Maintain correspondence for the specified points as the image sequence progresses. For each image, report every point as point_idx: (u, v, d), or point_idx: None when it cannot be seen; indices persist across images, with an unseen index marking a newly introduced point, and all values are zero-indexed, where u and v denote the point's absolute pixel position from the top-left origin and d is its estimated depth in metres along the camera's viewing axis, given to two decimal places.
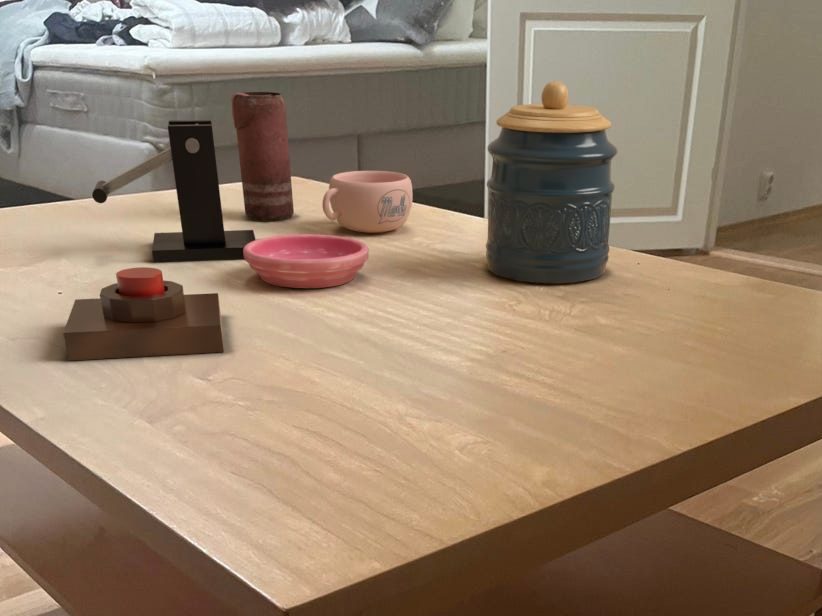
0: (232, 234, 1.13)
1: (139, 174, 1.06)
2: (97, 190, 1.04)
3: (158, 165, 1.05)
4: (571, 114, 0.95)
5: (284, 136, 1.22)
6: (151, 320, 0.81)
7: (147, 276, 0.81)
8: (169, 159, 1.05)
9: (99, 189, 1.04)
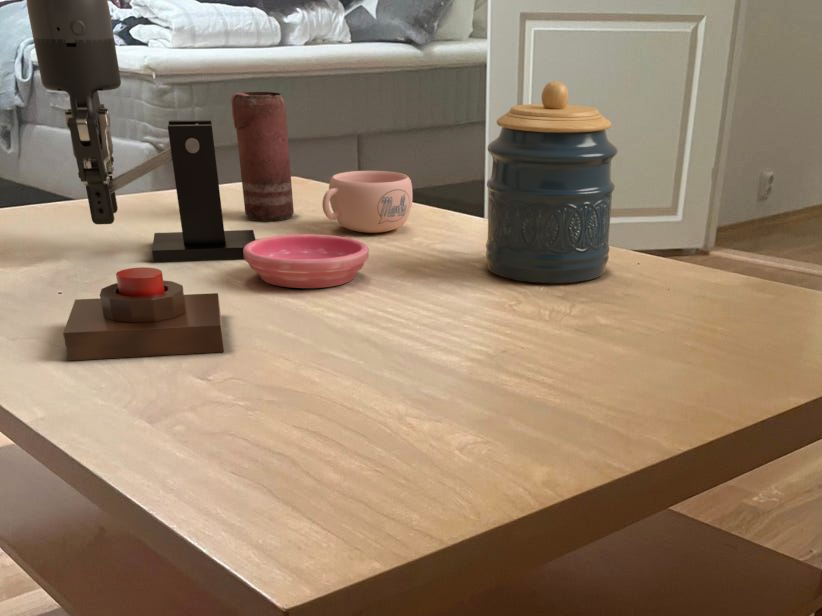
0: (232, 234, 1.13)
1: (140, 174, 1.06)
2: None
3: (158, 165, 1.06)
4: (571, 114, 0.95)
5: (284, 136, 1.22)
6: (151, 320, 0.81)
7: (147, 276, 0.81)
8: (169, 159, 1.05)
9: None
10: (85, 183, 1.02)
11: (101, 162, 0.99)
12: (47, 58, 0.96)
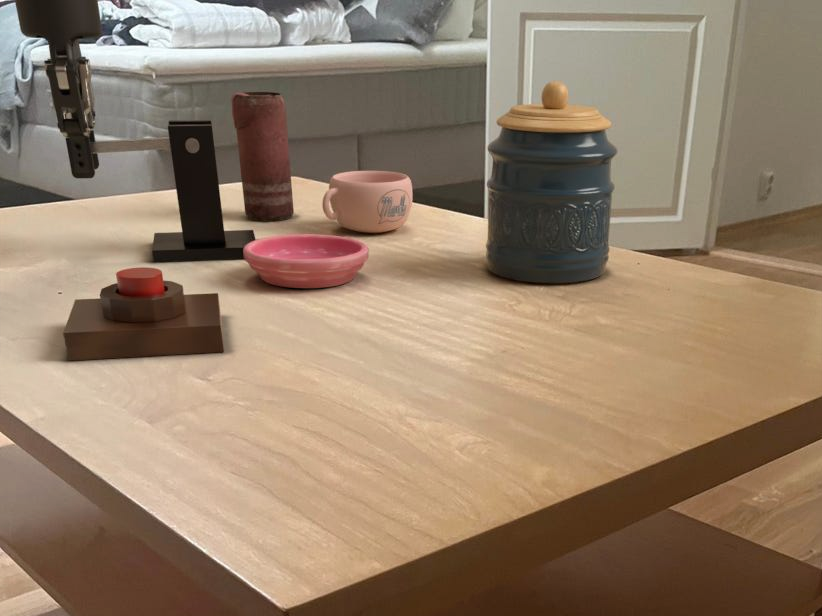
0: (232, 234, 1.13)
1: (128, 148, 1.04)
2: None
3: (151, 148, 1.05)
4: (571, 114, 0.95)
5: (284, 136, 1.22)
6: (151, 320, 0.81)
7: (147, 276, 0.81)
8: (163, 147, 1.05)
9: None
10: (65, 135, 0.99)
11: (81, 112, 0.97)
12: (25, 3, 0.94)
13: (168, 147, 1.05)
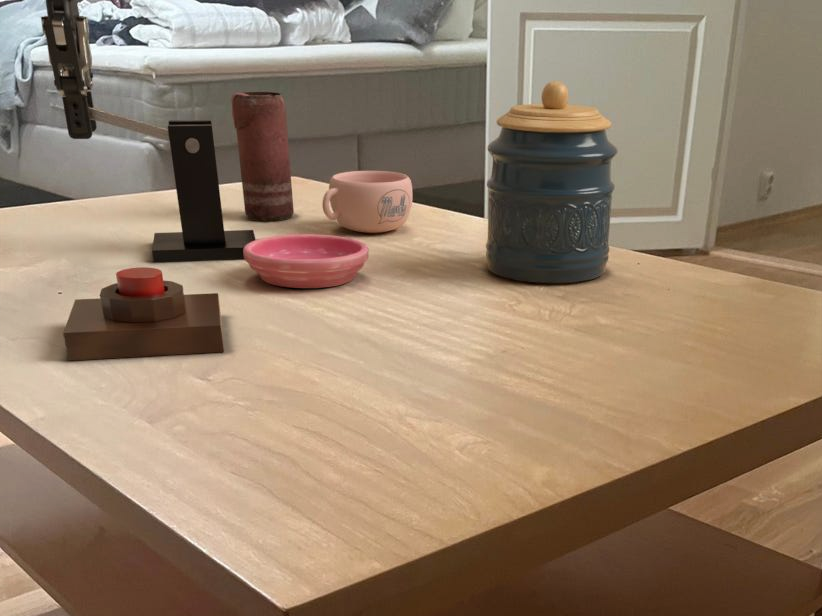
0: (232, 234, 1.13)
1: (127, 127, 1.03)
2: None
3: (149, 134, 1.04)
4: (571, 114, 0.95)
5: (284, 136, 1.22)
6: (151, 320, 0.81)
7: (147, 276, 0.81)
8: (162, 137, 1.04)
9: None
10: (61, 93, 0.97)
11: (78, 69, 0.95)
12: None
13: (167, 139, 1.04)
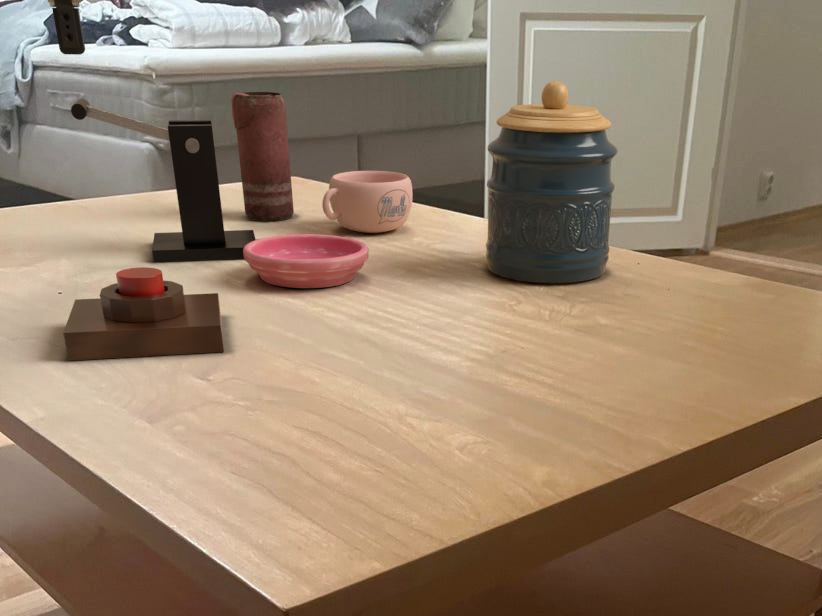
0: (232, 234, 1.13)
1: (127, 126, 1.03)
2: (80, 106, 0.99)
3: (149, 133, 1.04)
4: (571, 114, 0.95)
5: (284, 136, 1.22)
6: (151, 320, 0.81)
7: (147, 276, 0.81)
8: (162, 137, 1.04)
9: (83, 107, 1.00)
10: (52, 5, 0.92)
11: None
12: None
13: (167, 138, 1.04)
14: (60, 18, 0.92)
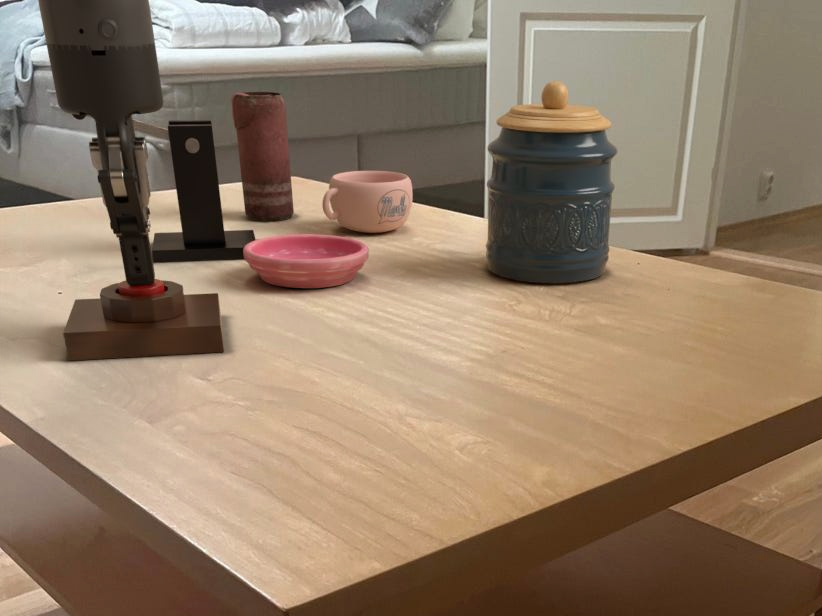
0: (232, 234, 1.13)
1: None
2: None
3: (149, 133, 1.04)
4: (571, 114, 0.95)
5: (284, 136, 1.22)
6: (151, 320, 0.81)
7: (149, 287, 0.81)
8: (162, 137, 1.04)
9: None
10: (119, 237, 0.79)
11: (141, 217, 0.76)
12: (66, 71, 0.71)
13: (167, 138, 1.04)
14: (128, 250, 0.79)
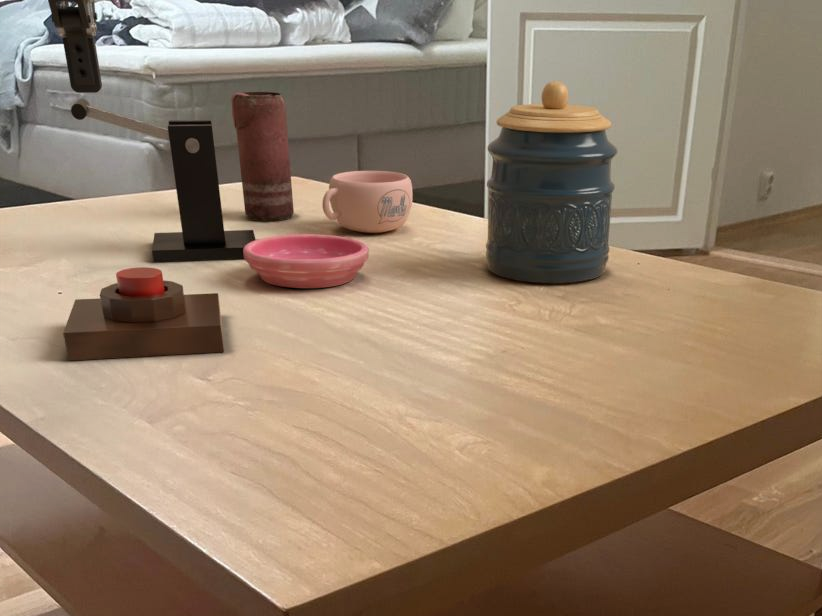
0: (232, 234, 1.13)
1: (127, 126, 1.03)
2: (80, 106, 0.99)
3: (149, 133, 1.04)
4: (571, 114, 0.95)
5: (284, 136, 1.22)
6: (151, 320, 0.81)
7: (147, 276, 0.81)
8: (162, 137, 1.04)
9: (83, 107, 1.00)
10: (62, 35, 0.76)
11: (83, 7, 0.73)
12: None
13: (167, 138, 1.04)
14: (71, 50, 0.76)
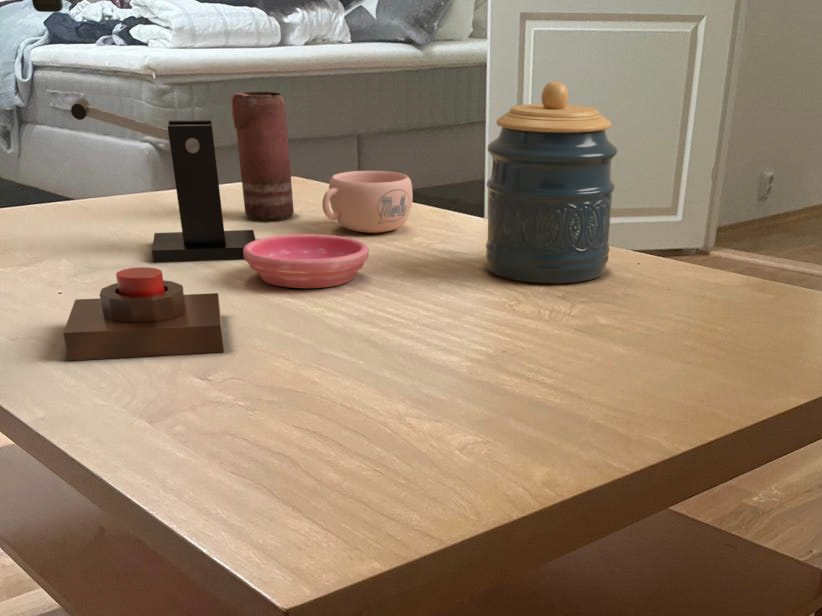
0: (232, 234, 1.13)
1: (127, 126, 1.03)
2: (80, 106, 0.99)
3: (149, 133, 1.04)
4: (571, 114, 0.95)
5: (284, 136, 1.22)
6: (151, 320, 0.81)
7: (147, 276, 0.81)
8: (162, 137, 1.04)
9: (83, 107, 1.00)
10: None
11: None
12: None
13: (167, 138, 1.04)
14: None
